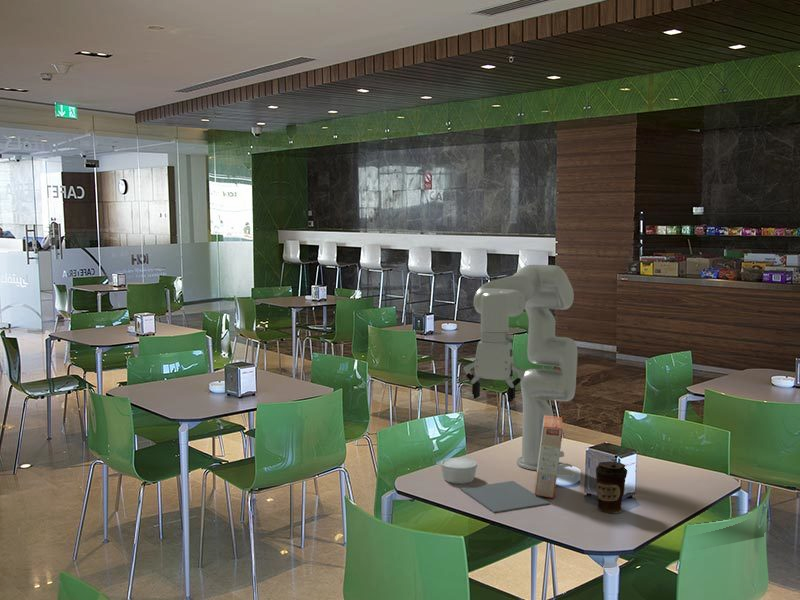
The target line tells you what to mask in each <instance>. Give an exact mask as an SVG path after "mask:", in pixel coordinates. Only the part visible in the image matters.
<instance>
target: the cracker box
mask: <svg viewBox="0 0 800 600" xmlns="http://www.w3.org/2000/svg"><path fill="white" fill-rule="evenodd" d="M563 424H564V421H563V417H561V416H553V415H552V416H548V415H544V420H543V427H542V434H541V442H540V450H539V458H538V466H537V470H536V475H535V484H534V485H535V486H534V487H535V489H534V494H535V495H537V496H539V497H542V498H543V497H545V498H549V499H550V498H551V499H554V498H555V493H556V485H557V479H558V478H557V475H558V470H559V462H560V457H559V456H560V451H561V447H562V441H563V440H562V438H563V432H564V425H563Z"/></svg>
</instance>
